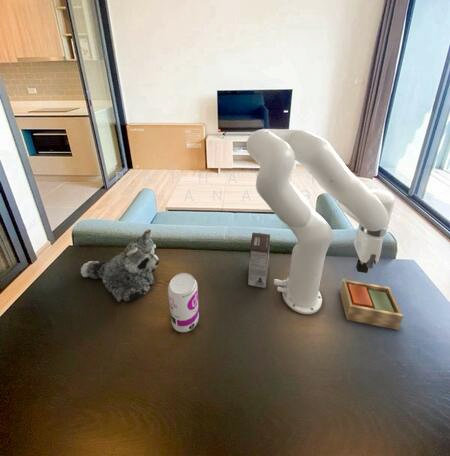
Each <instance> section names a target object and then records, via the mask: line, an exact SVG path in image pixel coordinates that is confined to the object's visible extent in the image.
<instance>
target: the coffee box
mask: <svg viewBox="0 0 450 456" xmlns="http://www.w3.org/2000/svg"><path fill="white" fill-rule="evenodd" d="M270 244H271V234H270V233H262V232H252V233H251V240H250V246H249V261H248V280H247V285H248V286H252V287H257V288H264V289H265V288H266V287H267V280H268V279H267V278H268V269H269V257H270V246H271V245H270Z"/></svg>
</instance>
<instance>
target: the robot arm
mask: <svg viewBox="0 0 450 456" xmlns="http://www.w3.org/2000/svg"><path fill="white" fill-rule="evenodd" d="M246 151H247V153H248V154H249V156H250V157H251V158H252V160H254V161H255V162H256V163H257V164H258V166H259V169H258V172H257V175H256V179H255V180H256V181H255V189H256V192H257V193H258V195H259V196H260V198H261V199H262V200H263V201H264V202H265V204H267V206H268V207H269V209H271V211H272V212H273V213H274V215H275V216H276V217H277V218H278V219H279V220H280V221H281V222H283V223H284V224H285V225H287V227H288V229H290V231H291V232H292V233H293V234H294V236H295V237H296V240H297V243H296V244H295V245H294V246H293V248H292V250H291V251H292V252H291V259H290V267H289V273H288V274H289V275H288V276H287V277H286V279H283V280H282V279H281V280H280V279H278V278H274V280H273V285H274V286H276V287H277V292H278V293H279V292H280V293H282V298H283V301H284V302H285V303H286V305H287V306H288V307H289V308H290V309H292V310H293V311H295V312H297V313H299V314H303V315H313V314H316V313H317V312H318V311H319V310H320V309H321V307H322V305H323V298H322V294H321V291H320V285H321V280H322V276H323V270H324V266H325V261H326V256H327V252H328V250H329V248H330V246H331V244H332V242H333V239H334V231H333V229H332V227H331V226H330V224H329V223H328V222H327V220H326V219H325V218H323V216H321V215H320V214H319V213H318V212H317V211H316V210H315V209H314V208H312V206H310V203H309V201H308V200H307V198H306V197H305V196H304V195H303V194H302V193H301V192H300V191H299V190H298V189H297V188H296V187H295V185H294V184H293V182H292V181H291V180H290V177H291V174H292V171H293V169H294V167H295V162H297V163H299V165H301V166H302V167H303V168H304V169H305V170H306V171H307V173H308V174H309V175H310V176H311V177H312V178H313V179H314V180H315V182H316V183H317V184H318V185H319V187H321V188H322V189H323V190H324V191H325V192H326V193H327V195H329V196H330V197H332V198H333V199H334V200H335V201H336V202H337V206H338V207H339V208H340V210H341V211H343V213H345V214H346V215H347V216H349V218H350V219H351V218H352V219H353V220H354V221H355V222H357V224H359V225H358V227H357V230H356V233H355V237H354V241H353V246H354V249H355V252H356V255H357V262H356V266H355V269H356V272H358V273H364V274H368V272H369V270H372V269H373V268H374V265H377V264H378V263H379V260H380V257H381V254H382V246H383V240H384V238H385V237H386V234H387V230H388V227H389V223H390V220H391V216H392V213H393V211H394V206H395V201H396V199H395V197H394V196H393V194H392V193H391V192H388V191H385V190H382V189H377V188H375V189H370V188H368V187H367V186H366V185H365V184H364V183H363V182H362V181H361V180H360V179H359V177H357V176H356V175H355V174H354V173H353V172H351V171H350V169H349V168H348V167H347V165H346V164H345V162H344V161H343V160H342V159H341V158H340V155H338V153H337V152H336V151H335V149H334V148H333V146H332V145H331V144H330V143H329V142H328V141H327V140H326V139H324V138H322V137H320V136H318V135H316V134H314V133H311V132H310V131H307V130H303V129H290V128H284V129H283V128H280V129H279V128H262V129H261V128H260V129H257V130H255V131H253V132H251V134H250V135H249V136H248V138H247V140H246Z"/></svg>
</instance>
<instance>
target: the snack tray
mask: <svg viewBox="0 0 450 456" xmlns="http://www.w3.org/2000/svg"><path fill="white" fill-rule="evenodd" d="M339 294H340V297H341V301H342V306H343V310H344V314H345V317H346V320H347V321H353V322H358V323H363V324H368V325H372V326H378V327H382V328H387V329H393V330H399V329H400V327H401V324H402V321H403V318H404V315H403V313H402V311H401V309H400V307H399V304H398V303H397V300H396V298H395V296H394V294H393V292H392V290H391V287H390V286H384V285H379V284H372V283H368V282H362V281H356V280H349V279H342V281H341V286H340V290H339Z"/></svg>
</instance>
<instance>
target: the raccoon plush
mask: <svg viewBox="0 0 450 456" xmlns="http://www.w3.org/2000/svg"><path fill="white" fill-rule="evenodd" d="M152 231H153V229H151V228H149V229H146V230H145V231H144V232H143V233H142V235H141V236H140V235H138V236H137V237H135V239H134V240H133V241H130V242H129V243H128V244H127V245H126V247H125V249H124V250H123V251H122V252H120V253H119V254H117V255H115V256H113V258H110V260H109V261H98V260H96V261H93V260H89V261H87V262H86V263H85V262H84V264H83V265H82V266H81V267H80V275H81V276H82V278H88V277H89V278H90V279H95V280H96V279H101V280H102V283H103V284H104V287H105V288H106V289H107V290H108V292H110V293H111V294H112V296H113V298H114V299H115V300H116V301H117V302H118V303H119V302H121V301H122V300H123V301H125V302H127V301H129V302H131V301H135V300H138V299H139V298H140V297H142V295H146V294H147V293H148V292H149V291H150V289H151V287H150V286H151V285H154V284H155V278H154V275H153V273H154V272H155V270H156V268H157V267H158V266H159V264H160V259H159V257H158V256H157V254H156V253H157V249H156V248H157V246H156V244H155V243H154V241H153V239H152V238H151V237H152V236H153V232H152Z"/></svg>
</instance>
